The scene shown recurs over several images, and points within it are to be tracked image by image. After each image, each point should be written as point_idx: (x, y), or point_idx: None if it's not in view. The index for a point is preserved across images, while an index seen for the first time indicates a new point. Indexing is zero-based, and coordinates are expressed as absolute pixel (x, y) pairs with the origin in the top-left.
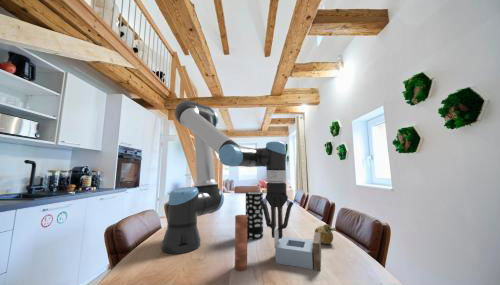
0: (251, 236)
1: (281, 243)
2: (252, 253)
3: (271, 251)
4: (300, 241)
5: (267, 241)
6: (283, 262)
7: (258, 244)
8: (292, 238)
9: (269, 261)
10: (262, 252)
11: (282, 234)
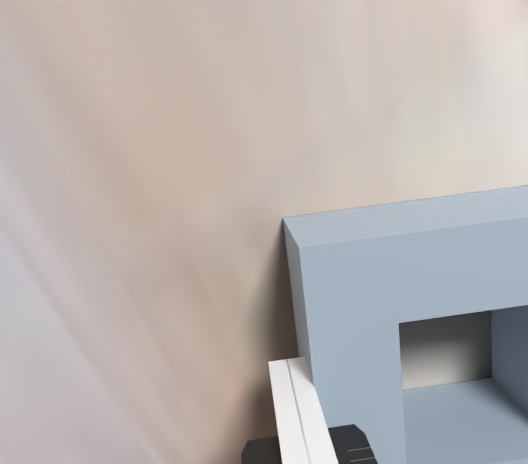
0: None
1: None
2: (82, 404)
3: (204, 296)
4: (524, 304)
5: (50, 69)
6: None
7: (13, 201)
8: (428, 261)
9: None
10: (145, 350)
11: (371, 451)
